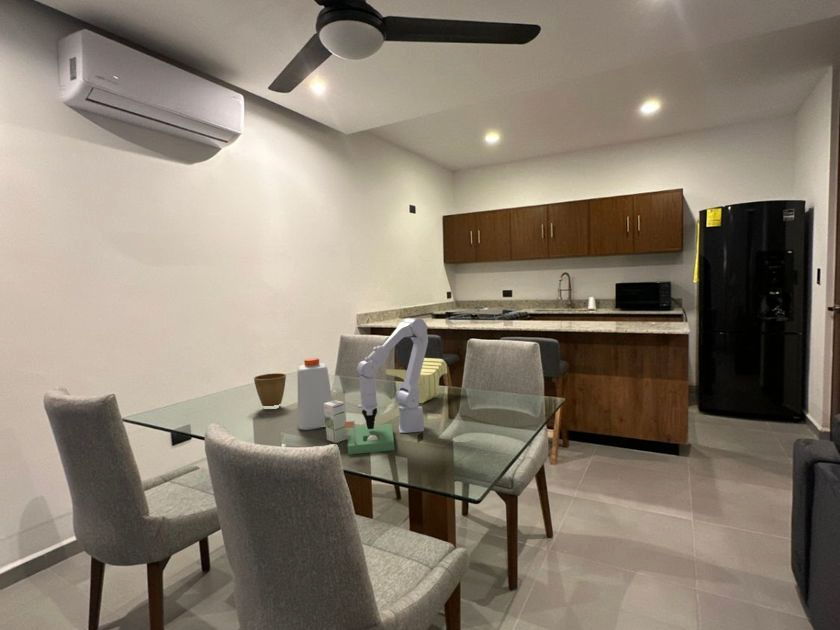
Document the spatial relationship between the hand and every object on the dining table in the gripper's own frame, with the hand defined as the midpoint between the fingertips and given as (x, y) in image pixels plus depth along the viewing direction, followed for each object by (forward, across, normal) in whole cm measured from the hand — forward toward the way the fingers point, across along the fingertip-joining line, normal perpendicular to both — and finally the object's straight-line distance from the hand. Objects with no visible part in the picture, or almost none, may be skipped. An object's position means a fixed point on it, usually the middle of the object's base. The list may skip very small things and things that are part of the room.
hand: (370, 428), depth 167 cm
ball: (+2, +8, 0) cm, 8 cm away
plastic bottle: (+4, -25, -23) cm, 34 cm away
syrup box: (+4, -3, -13) cm, 14 cm away
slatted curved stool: (+4, -50, +24) cm, 56 cm away
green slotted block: (+4, +3, 0) cm, 5 cm away
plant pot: (+4, -58, -48) cm, 75 cm away
